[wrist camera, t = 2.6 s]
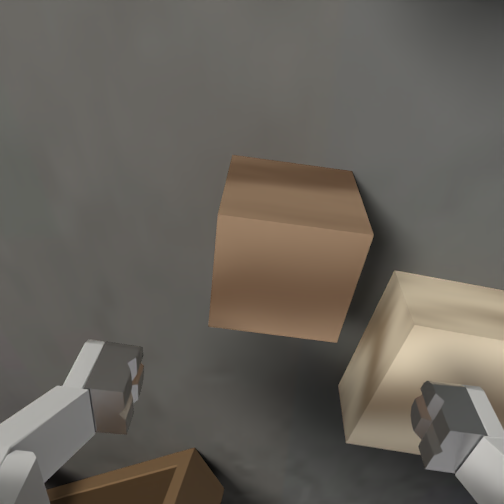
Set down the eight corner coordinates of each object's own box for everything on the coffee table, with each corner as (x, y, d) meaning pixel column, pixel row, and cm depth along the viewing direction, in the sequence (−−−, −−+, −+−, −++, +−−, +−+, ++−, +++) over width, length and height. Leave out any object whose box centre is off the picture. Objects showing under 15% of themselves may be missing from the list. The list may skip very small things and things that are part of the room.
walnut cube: (232, 154, 17) (217, 214, 13) (351, 170, 17) (373, 235, 13) (222, 252, 20) (208, 326, 16) (325, 265, 20) (336, 342, 16)
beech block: (393, 266, 20) (414, 324, 17) (565, 298, 21) (618, 361, 18) (337, 381, 25) (345, 442, 22) (477, 404, 26) (505, 468, 23)
